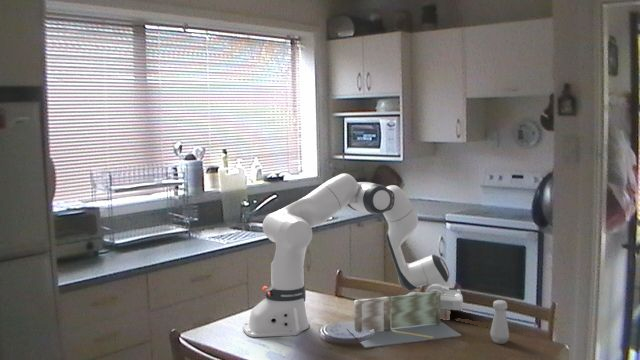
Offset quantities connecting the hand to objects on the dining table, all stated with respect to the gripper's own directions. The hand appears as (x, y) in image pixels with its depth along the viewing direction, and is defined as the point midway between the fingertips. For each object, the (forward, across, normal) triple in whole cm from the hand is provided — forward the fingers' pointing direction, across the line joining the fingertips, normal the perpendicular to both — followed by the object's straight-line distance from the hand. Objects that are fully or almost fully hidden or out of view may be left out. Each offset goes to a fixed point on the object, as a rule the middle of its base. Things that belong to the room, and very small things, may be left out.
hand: (431, 307), depth 211 cm
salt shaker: (+12, +23, +6) cm, 27 cm away
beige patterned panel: (+16, -17, +6) cm, 24 cm away
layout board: (+13, -7, +5) cm, 16 cm away
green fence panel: (+7, -4, +4) cm, 9 cm away
